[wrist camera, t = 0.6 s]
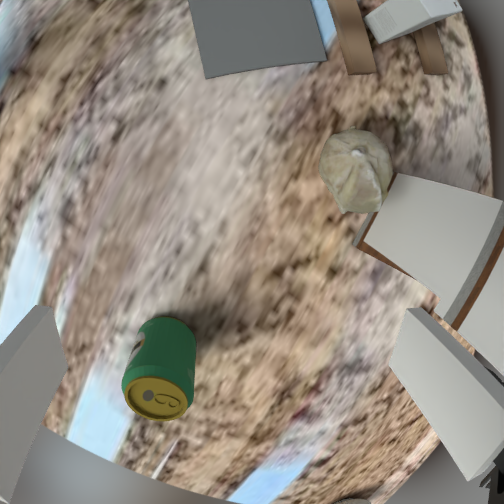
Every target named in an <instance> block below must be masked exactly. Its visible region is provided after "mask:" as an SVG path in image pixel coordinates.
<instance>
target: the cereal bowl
mask: <svg viewBox="0 0 504 504" xmlns="http://www.w3.org/2000/svg"><path fill="white" fill-rule="evenodd" d="M334 504H371V502H369V501H367V500H365V499H353V498H349V499H344V500H341V501H338V502H336V503H334Z"/></svg>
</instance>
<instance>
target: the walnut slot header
mask: <svg viewBox="0 0 504 504" xmlns="http://www.w3.org/2000/svg"><path fill="white" fill-rule="evenodd" d="M327 2H328V5H329V8H330V11H331V14H332V18H333V21H334V24H335V27H336V31H337V34H338V38H339V41H340V45H341V49H342V53H343V56H344V60H345V64H346V68H347V72H348V75H365V74H372V73H374V72H377V69H376V65H375V61H374V57H373V53H372V50H371V46H370V42H369V39H368V35H367V32H366V29H365V25H364V22H363V19H362V16H361V13H360V10H359V7H358V4H357V1H356V0H327ZM413 33H414V36H415V40H416V43H417V47H418V51H419V54H420V58H421V62H422V66H423V71H424V74H428V75H443V74H448V69H447V65H446V61H445V57H444V53H443V50H442V46H441V42H440V39H439V35H438V32H437V29H436V26H435V23H432V24H429V25H427V26H425V27H423V28H420V29H418V30H416V31H414V32H413Z"/></svg>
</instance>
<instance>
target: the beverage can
mask: <svg viewBox="0 0 504 504" xmlns="http://www.w3.org/2000/svg"><path fill="white" fill-rule="evenodd" d="M195 359H196V340H195V337H194V334H193V333H192V331H191V330H190V329H189V328H188V327H187V325H186V324H184V323H183V322H182V321H180V320H178V319H176V318H173V317H167V316H162V317H156V318H154V319H151V320H149V321H147V322H146V323H144V324H143V325H142V326H141V328H140V329H139V332H138V334H137V337H136V340H135V343H134V346H133V349H132V352H131V355H130V358H129V361H128V364H127V367H126V370H125V373H124V376H123V379H122V391H123V394H124V396H125V400H126V402H127V404H128V406H129V407H130V408H131V409H132V410H133V411H134V412H135V413H137V414H138V415H140V416H142V417H144V418H147V419H150V420H154V421H171V420H174V419H177V418H179V417H180V416H182V415H183V414H184V413H185V411H186V410H187V409H188V408H189V407H190V405H191V404H192V402H193V397H194V378H195Z"/></svg>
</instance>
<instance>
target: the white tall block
mask: <svg viewBox="0 0 504 504" xmlns="http://www.w3.org/2000/svg"><path fill="white" fill-rule="evenodd" d="M387 192H388V196H387V198H386V199H385V200H384V202H383V203H382V206H381V208H380V211H378V212H369V214H368V215H367V217H366V219H365V221H364V223H363V225H362V227H361V229H360V231H359V233H358V234H357V236H356V238H355V240H354V242H353V245H354V246H355V247H357V248H358V249H359V250H361V251H363V252H365V253H367V254H369V255H371V256H373V257H375V258H376V259H378V260H380V261H382V262H384V263H386V264H388V265H390V266H392V267H393V268H395V269H397V270H399V271H401V272H403V273H404V274H406V275H408V276H410V277H412V278H414V279H415V280H417V281H419V282H420V283H421V284H423V285H424V286H425V287H426V288H428V289H429V290H430V291H432V292H433V293H434V294H435V295H437V296H438V297H439V298H441V299H440V301H439V303H438V304H437V306H436V308H435V309H434V312H435V313H436V314H438V315H439V316H440V317H441V318H442V319H443V320H444V321H446V322H447V323H448V324H449V325H450V326H451V327H452V328H453V329H454V330H456V331H457V332H458V333H459V334H460V335H461V336H462V337H463V338H464V339H465V340H467V341H468V342H469V343H470V344H471V345H472V346H473V347H474V348H475V349H476V350H477V351H478V352H479V353H480V354H482V355H483V356H484V357H485V358H486V359H487V360H488V361H489V362H490V363H491V364H492V365H493V366H494V367H495V368H496V369H497V370H498V371H499V372H500V373H501V374H502V375H503V376H504V201H501V200H498V199H495V198H492V197H489V196H485V195H482V194H479V193H475V192H472V191H468V190H465V189H461V188H458V187H454V186H450V185H446V184H442V183H439V182H435V181H431V180H426V179H422V178H418V177H414V176H409V175H405V174H400V173H396V172H393V175H392V179H391V181H390V183H389V186H388V188H387Z"/></svg>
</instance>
